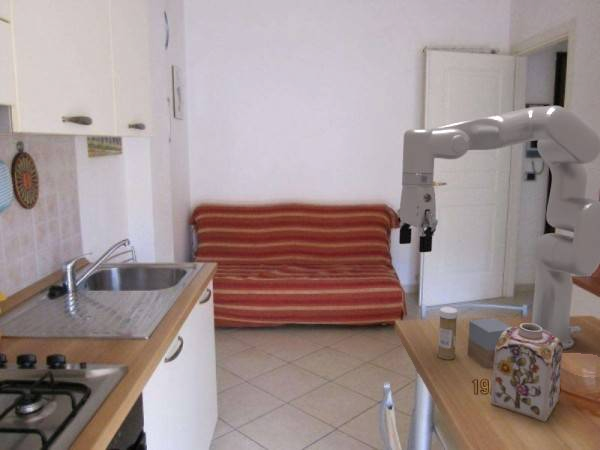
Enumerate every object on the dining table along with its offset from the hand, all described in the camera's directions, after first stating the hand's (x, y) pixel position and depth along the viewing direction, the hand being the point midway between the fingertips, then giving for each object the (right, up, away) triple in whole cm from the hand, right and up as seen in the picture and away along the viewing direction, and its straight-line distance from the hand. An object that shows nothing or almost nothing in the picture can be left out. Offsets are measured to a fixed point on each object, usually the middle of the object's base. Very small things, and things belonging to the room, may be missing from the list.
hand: (414, 247), depth 125 cm
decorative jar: (+21, -34, -14) cm, 43 cm away
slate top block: (+22, -26, +6) cm, 34 cm away
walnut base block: (+22, -30, +7) cm, 38 cm away
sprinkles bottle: (+10, -30, +9) cm, 33 cm away
